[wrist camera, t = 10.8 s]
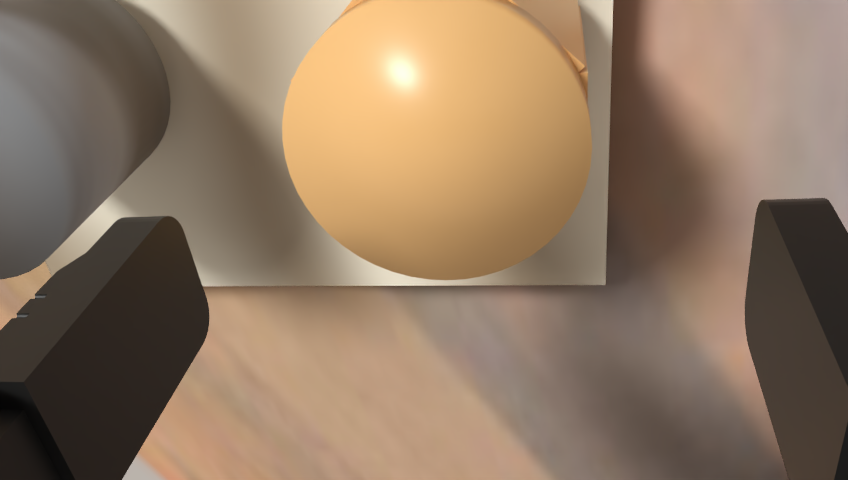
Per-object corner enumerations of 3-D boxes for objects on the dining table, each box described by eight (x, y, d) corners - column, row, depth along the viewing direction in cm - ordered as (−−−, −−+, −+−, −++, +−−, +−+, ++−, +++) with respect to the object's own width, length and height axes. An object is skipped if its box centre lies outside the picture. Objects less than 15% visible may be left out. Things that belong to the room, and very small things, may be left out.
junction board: (616, -327, 15) (660, -378, 9) (602, 255, 23) (621, 439, 17) (-116, -229, 18) (-448, -220, 12) (80, 260, 26) (-67, 419, 20)
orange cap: (582, -78, 16) (594, -17, 12) (581, 162, 19) (590, 280, 15) (326, -56, 17) (252, 6, 13) (362, 168, 20) (311, 281, 16)
